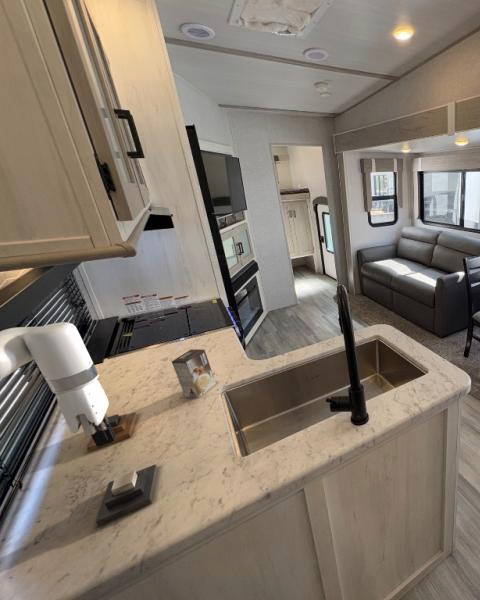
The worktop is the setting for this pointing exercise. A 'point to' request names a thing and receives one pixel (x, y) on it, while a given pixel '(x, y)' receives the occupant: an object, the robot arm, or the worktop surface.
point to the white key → (124, 483)
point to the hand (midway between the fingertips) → (106, 441)
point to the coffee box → (194, 372)
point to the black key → (114, 420)
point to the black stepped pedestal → (128, 497)
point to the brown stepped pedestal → (118, 430)
